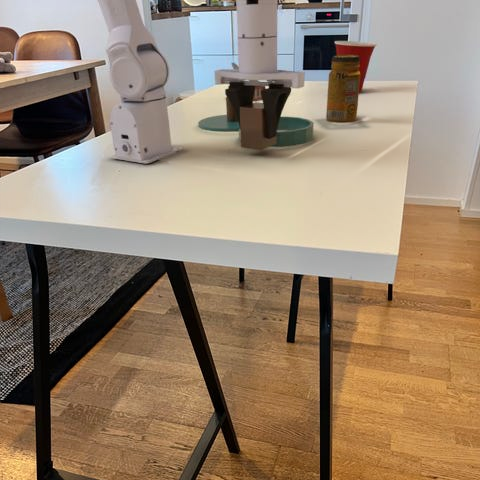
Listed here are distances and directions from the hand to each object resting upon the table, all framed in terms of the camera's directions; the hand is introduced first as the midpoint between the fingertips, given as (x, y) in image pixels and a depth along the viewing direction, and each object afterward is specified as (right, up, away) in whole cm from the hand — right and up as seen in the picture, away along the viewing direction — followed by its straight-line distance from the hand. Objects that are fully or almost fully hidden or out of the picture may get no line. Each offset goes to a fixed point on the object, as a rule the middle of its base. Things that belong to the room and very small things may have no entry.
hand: (258, 136), depth 76 cm
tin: (+4, +3, +11) cm, 12 cm away
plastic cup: (+27, +32, +53) cm, 68 cm away
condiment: (+18, +10, +21) cm, 29 cm away
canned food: (-1, +30, +51) cm, 59 cm away
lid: (-4, +11, +22) cm, 25 cm away
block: (0, -1, +1) cm, 2 cm away
